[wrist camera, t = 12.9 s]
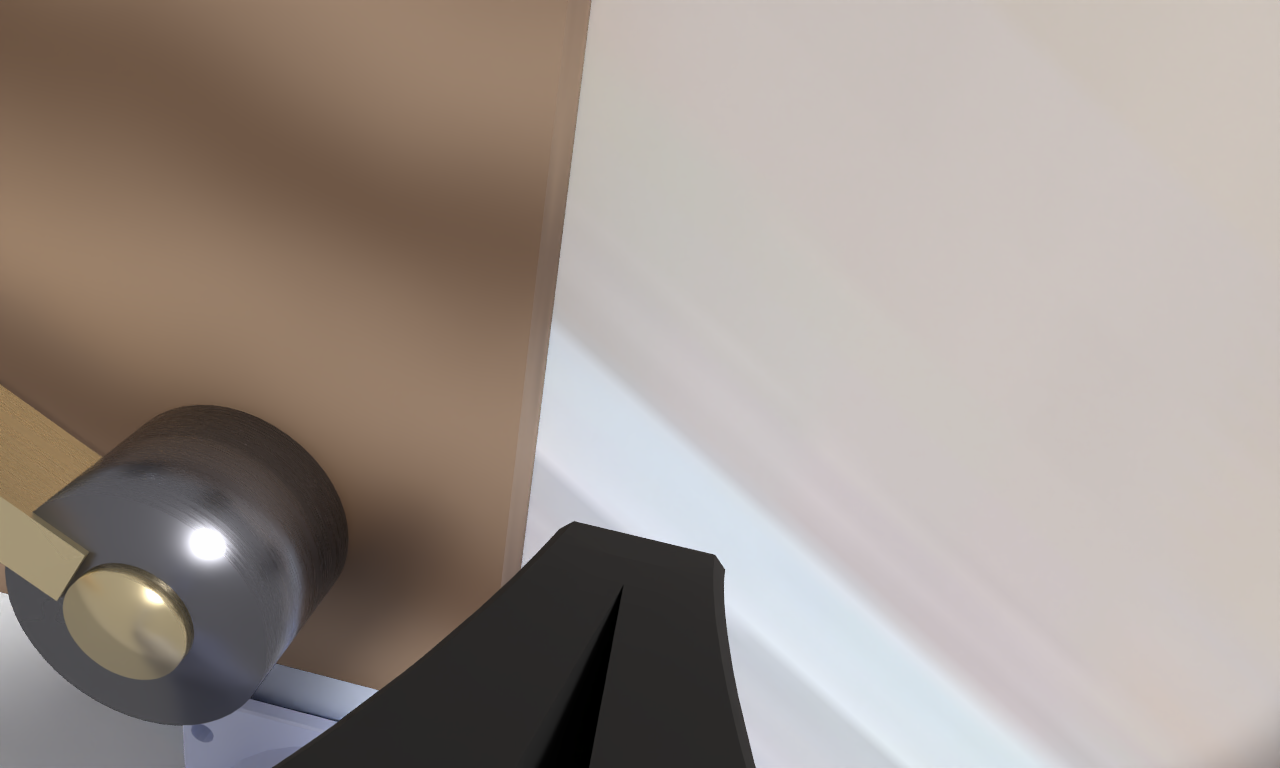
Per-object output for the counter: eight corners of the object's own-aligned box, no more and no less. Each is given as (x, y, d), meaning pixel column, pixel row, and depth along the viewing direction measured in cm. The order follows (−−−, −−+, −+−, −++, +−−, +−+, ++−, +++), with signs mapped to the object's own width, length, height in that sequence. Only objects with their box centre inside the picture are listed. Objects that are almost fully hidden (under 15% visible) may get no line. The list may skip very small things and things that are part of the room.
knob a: (392, 512, 19) (306, 631, 16) (279, 652, 21) (183, 781, 18) (-156, 107, 18) (-360, 158, 15) (-223, 299, 20) (-415, 376, 17)
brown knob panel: (508, 666, 22) (443, 812, 19) (-233, 478, 24) (-416, 581, 21) (678, -702, 13) (607, -905, 9) (-576, -854, 14) (-1025, -1073, 11)
